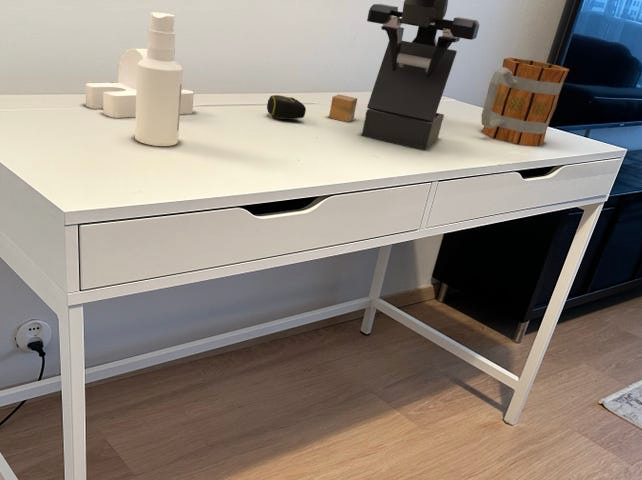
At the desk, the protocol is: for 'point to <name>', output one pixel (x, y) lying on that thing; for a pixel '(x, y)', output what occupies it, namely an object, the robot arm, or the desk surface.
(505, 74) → the mug
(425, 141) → the dark grey box
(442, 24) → the robot arm
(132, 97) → the white slotted bracket
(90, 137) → the desk surface
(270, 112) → the tape measure
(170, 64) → the spray bottle
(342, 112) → the orange-brown cube
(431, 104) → the lid
